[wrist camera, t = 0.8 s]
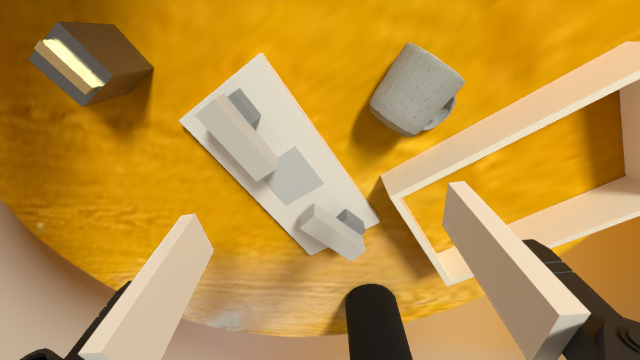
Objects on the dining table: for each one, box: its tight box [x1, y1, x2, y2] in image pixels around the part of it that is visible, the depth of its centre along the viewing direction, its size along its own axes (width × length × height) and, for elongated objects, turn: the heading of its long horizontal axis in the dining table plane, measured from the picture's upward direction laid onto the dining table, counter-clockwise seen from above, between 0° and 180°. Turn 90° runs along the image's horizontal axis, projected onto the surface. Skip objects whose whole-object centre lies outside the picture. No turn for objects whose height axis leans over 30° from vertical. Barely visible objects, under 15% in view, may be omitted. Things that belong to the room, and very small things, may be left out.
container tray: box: [380, 42, 640, 286], centre depth 35 cm, size 22×32×6 cm
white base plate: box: [179, 53, 380, 261], centre depth 35 cm, size 30×14×7 cm, turn 34°
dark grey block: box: [28, 22, 154, 107], centre depth 27 cm, size 6×6×8 cm
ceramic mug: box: [369, 43, 465, 137], centre depth 29 cm, size 11×8×8 cm
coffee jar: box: [345, 284, 413, 360], centre depth 46 cm, size 11×11×18 cm
